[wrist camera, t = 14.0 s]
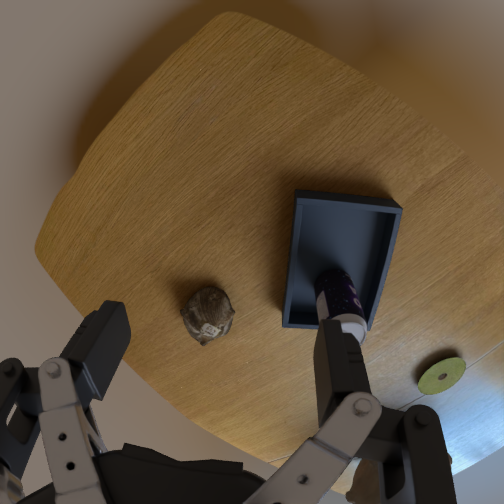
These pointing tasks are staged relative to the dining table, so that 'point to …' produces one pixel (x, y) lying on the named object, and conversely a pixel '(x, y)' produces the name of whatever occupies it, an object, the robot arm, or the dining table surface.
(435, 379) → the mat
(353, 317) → the beverage can
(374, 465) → the bowl
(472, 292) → the dining table surface
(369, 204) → the dark blue tray
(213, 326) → the fossilized seashell
